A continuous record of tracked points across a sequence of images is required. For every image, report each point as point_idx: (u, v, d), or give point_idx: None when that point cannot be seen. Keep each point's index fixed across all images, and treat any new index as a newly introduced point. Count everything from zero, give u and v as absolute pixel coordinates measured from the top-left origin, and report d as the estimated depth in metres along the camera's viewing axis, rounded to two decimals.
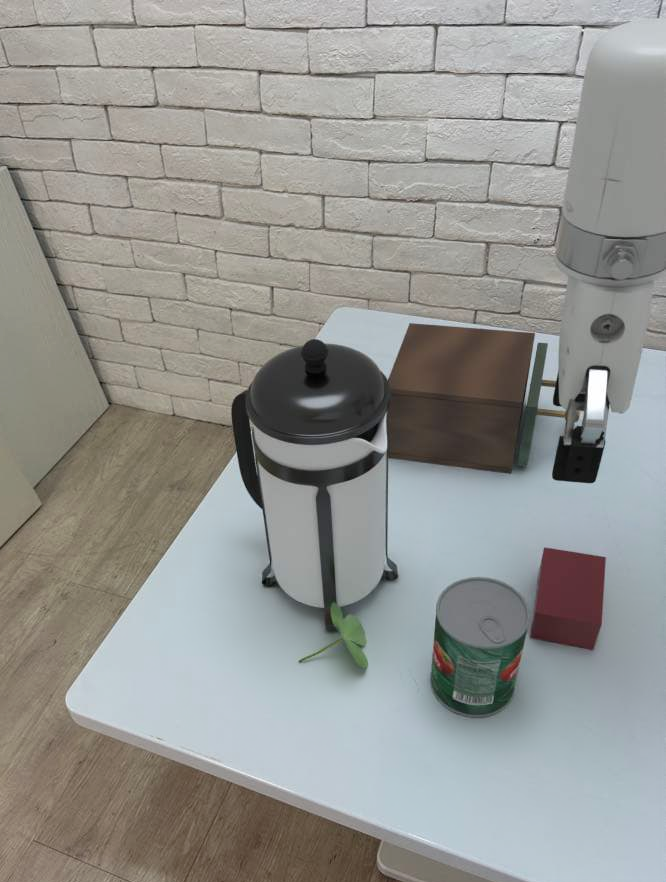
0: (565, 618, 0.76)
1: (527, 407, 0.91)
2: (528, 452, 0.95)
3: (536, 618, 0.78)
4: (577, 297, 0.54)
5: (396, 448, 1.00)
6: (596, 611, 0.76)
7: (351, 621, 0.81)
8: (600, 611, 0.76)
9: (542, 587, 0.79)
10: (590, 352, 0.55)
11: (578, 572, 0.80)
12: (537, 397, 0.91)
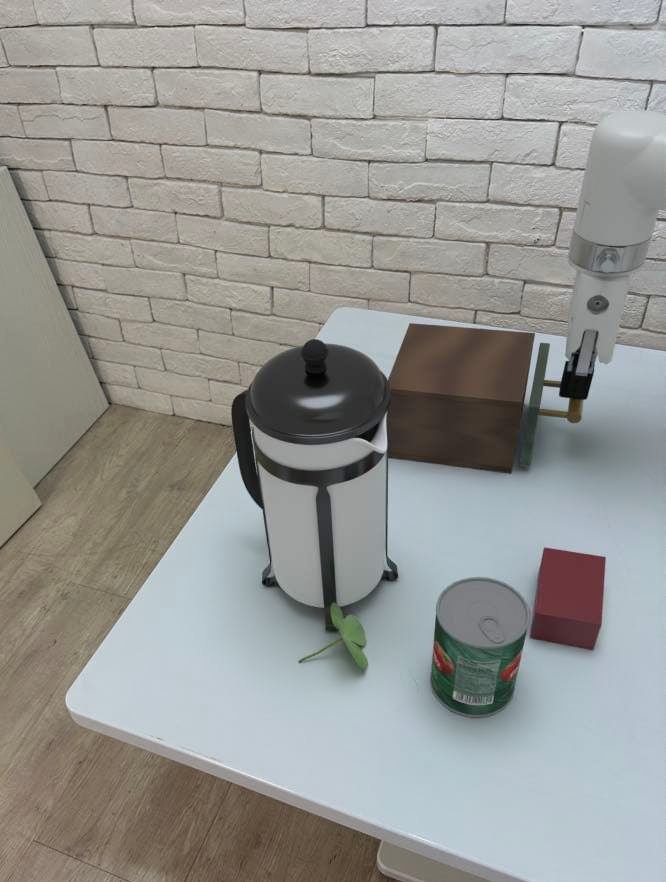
0: (565, 618, 0.76)
1: (529, 407, 0.90)
2: (530, 452, 0.95)
3: (536, 618, 0.78)
4: (579, 283, 0.82)
5: (396, 448, 1.00)
6: (596, 611, 0.76)
7: (351, 621, 0.81)
8: (600, 611, 0.76)
9: (542, 587, 0.79)
10: (586, 320, 0.83)
11: (578, 572, 0.80)
12: (539, 397, 0.91)
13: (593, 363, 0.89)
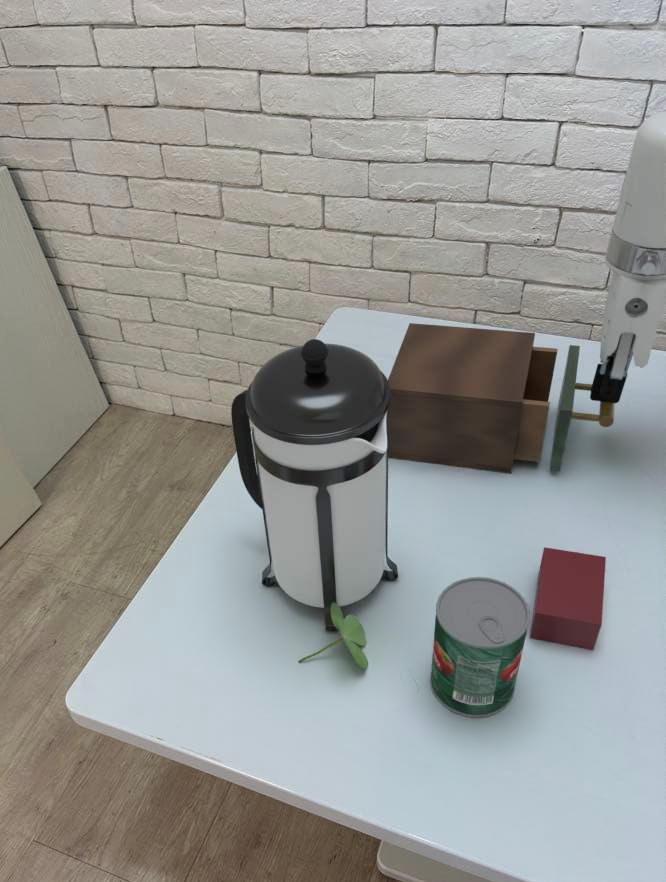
0: (565, 618, 0.76)
1: (562, 411, 0.89)
2: (561, 456, 0.94)
3: (536, 618, 0.78)
4: (617, 285, 0.81)
5: (396, 448, 1.00)
6: (596, 612, 0.76)
7: (351, 621, 0.81)
8: (600, 611, 0.76)
9: (542, 587, 0.79)
10: (623, 323, 0.82)
11: (578, 572, 0.80)
12: (572, 400, 0.90)
13: (627, 366, 0.88)
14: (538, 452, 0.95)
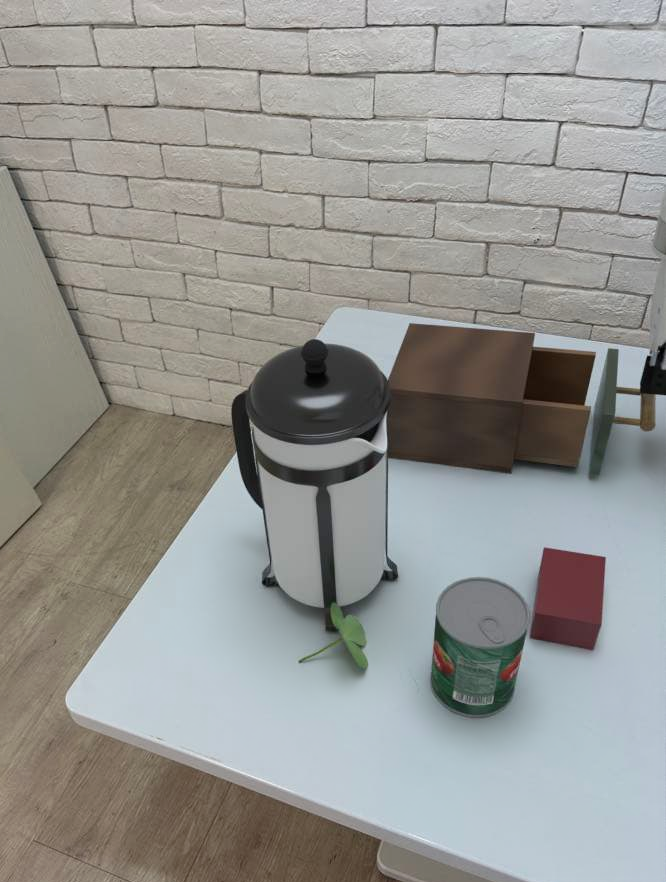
0: (565, 618, 0.76)
1: (604, 415, 0.88)
2: (601, 461, 0.92)
3: (536, 618, 0.78)
4: None
5: (396, 448, 1.00)
6: (596, 611, 0.76)
7: (351, 621, 0.81)
8: (600, 611, 0.76)
9: (542, 587, 0.79)
10: None
11: (578, 572, 0.80)
12: (613, 404, 0.89)
13: None
14: (577, 457, 0.94)
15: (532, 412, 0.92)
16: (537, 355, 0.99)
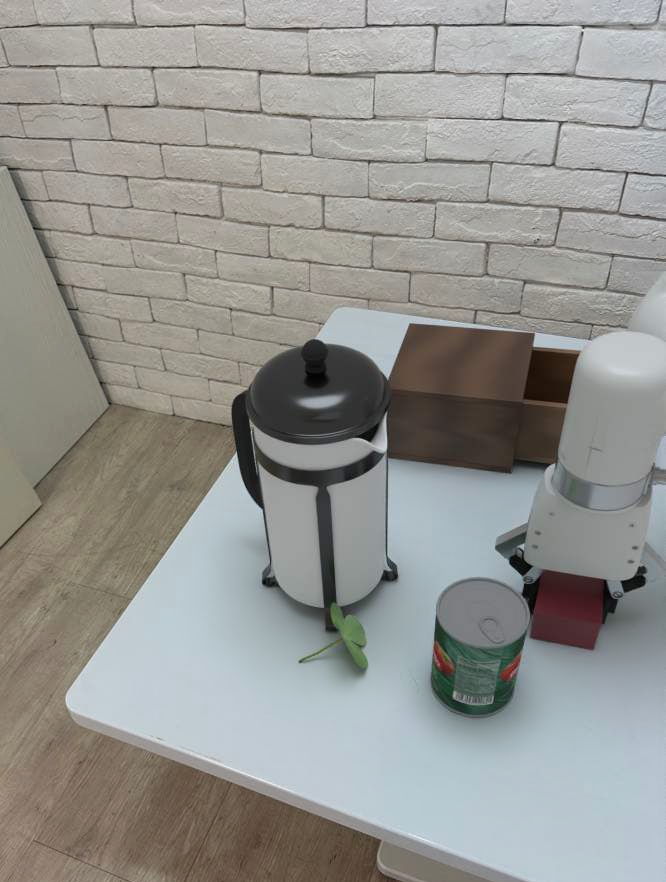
0: (565, 618, 0.76)
1: None
2: None
3: (536, 618, 0.78)
4: (636, 516, 0.68)
5: (396, 448, 1.00)
6: (596, 612, 0.76)
7: (351, 621, 0.81)
8: (600, 611, 0.76)
9: (542, 587, 0.79)
10: (646, 534, 0.71)
11: None
12: None
13: None
14: None
15: (532, 412, 0.92)
16: (537, 355, 0.99)
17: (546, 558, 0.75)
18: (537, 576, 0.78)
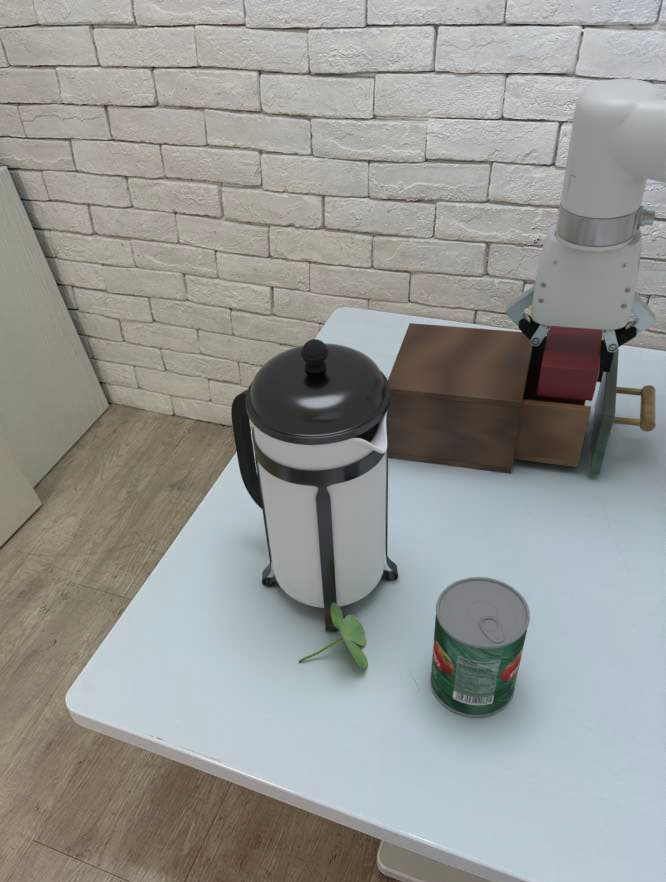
0: (567, 368, 0.88)
1: (604, 415, 0.88)
2: (601, 461, 0.92)
3: (542, 372, 0.89)
4: (627, 255, 0.80)
5: (396, 448, 1.00)
6: (594, 363, 0.88)
7: (351, 621, 0.81)
8: (598, 362, 0.88)
9: (547, 349, 0.91)
10: (636, 279, 0.83)
11: (578, 338, 0.92)
12: (613, 404, 0.89)
13: None
14: (577, 457, 0.94)
15: (532, 412, 0.92)
16: None
17: (550, 312, 0.86)
18: (543, 336, 0.90)
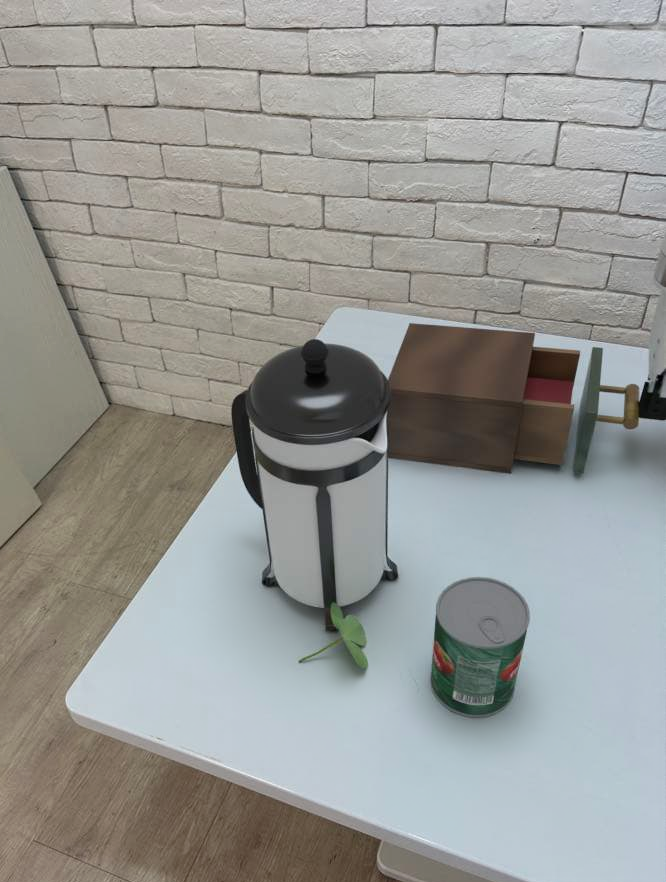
0: None
1: (587, 413, 0.89)
2: (585, 459, 0.93)
3: None
4: None
5: (396, 448, 1.00)
6: None
7: (351, 621, 0.81)
8: None
9: None
10: None
11: (550, 392, 0.98)
12: (597, 403, 0.89)
13: None
14: (561, 455, 0.94)
15: None
16: None
17: None
18: None
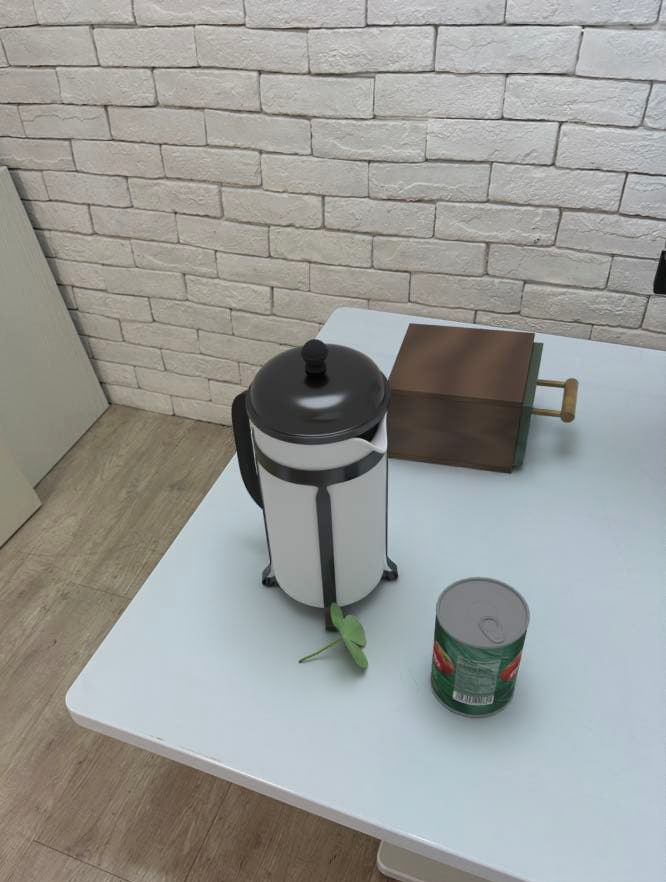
0: None
1: (522, 407, 0.91)
2: (524, 451, 0.95)
3: None
4: None
5: (396, 448, 1.00)
6: None
7: (351, 621, 0.81)
8: None
9: None
10: None
11: None
12: (533, 396, 0.91)
13: None
14: None
15: None
16: None
17: None
18: None
